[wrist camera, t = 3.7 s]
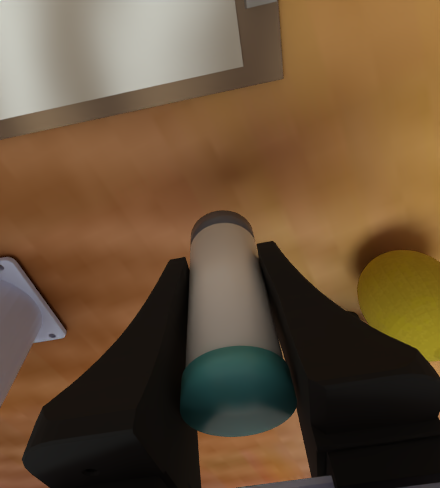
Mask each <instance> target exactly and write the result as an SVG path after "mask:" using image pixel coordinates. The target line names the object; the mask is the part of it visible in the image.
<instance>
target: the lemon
mask: <svg viewBox="0 0 440 488" xmlns="http://www.w3.org/2000/svg"><path fill="white" fill-rule="evenodd" d="M357 293H358V301H359V305H360V309H361V311H362V313H363V316H364V317H365V319H366V321H367V322H368V324H369V326H371V327H373V328H375V329H377V330H379V331H380V332H382V333H384V334H386V335H388V336H390V337H393V338H395V339H397V340H399V341H401V342H403V343H406V344H408V345H410V346H412V347H414V348H416V349H418V350H419V352H420V353H421V354H422V355H423V356H424V357H425V359H426V360H427V361H440V262H439V261H437V260H436V259H434V258H432V257H430V256H428V255H426V254H423V253H420V252H417V251H412V250H395V251H390V252H387V253H383V254H381V255H379V256H377V257H376V258H374V259H373V260H372V261H370V262H369V264H368V265H367V266H366V267H365V268H364V270H363V271H362V273H361V275H360V278H359V282H358V287H357Z"/></svg>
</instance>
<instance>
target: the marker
mask: <svg viewBox="0 0 440 488" xmlns="http://www.w3.org/2000/svg"><path fill="white" fill-rule="evenodd" d="M296 406H297V398H296V394H295V390H294V386H293V382H292V378H291V374H290V370H289V367H288V365H287V363H286V362H285V360H284V359H283V356H282V352H281V348H280V344H279V340H278V335H277V331H276V327H275V323H274V319H273V314H272V310H271V306H270V302H269V298H268V293H267V289H266V285H265V281H264V278H263V274H262V270H261V265H260V261H259V256H258V252H257V247H256V243H255V239H254V235H253V231H252V227H251V225H250V223H249V222H248V221H247V220H246V219H245V218H244V217H243V216H241V215H240V214H238V213H235V212H232V211H215V212H211V213H209V214H206V215H205V216H203V217H202V218H200V219H199V220H198V221H197V222H196V224H195V225H194V227H193V229H192V233H191V248H190V272H189V296H188V320H187V344H186V367H185V370H184V372H183V374H182V378H181V395H180V414H181V417H182V419H183V420H184V421H185V422H186V423H187V424H188V425H189V426H190V427H192V428H194V429H195V430H198V431H200V432H203V433H206V434H210V435H215V436H224V437H238V436H248V435H254V434H258V433H261V432H265V431H268V430H270V429H273V428H275V427H277V426H279V425H280V424H282V423H283V422H285V421H286V420H287V419H288V418H289V417H290V416H291V415H292V414H293V413H294V411H295V409H296Z"/></svg>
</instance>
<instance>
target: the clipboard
mask: <svg viewBox="0 0 440 488" xmlns="http://www.w3.org/2000/svg"><path fill="white" fill-rule="evenodd" d="M280 79H283V64H282V50H281V35H280V20H279V6H278V0H0V140H1V139H6V138H11V137H15V136H20V135H25V134H29V133H34V132H39V131H43V130H48V129H53V128H57V127H62V126H66V125H71V124H76V123H80V122H85V121H90V120H94V119H99V118H104V117H108V116H113V115H118V114H122V113H127V112H131V111H136V110H141V109H145V108H150V107H155V106H159V105H164V104H169V103H173V102H178V101H183V100H187V99H192V98H196V97H201V96H206V95H210V94H215V93H220V92H224V91H229V90H234V89H238V88H243V87H248V86H252V85H257V84H261V83H266V82H271V81H275V80H280Z"/></svg>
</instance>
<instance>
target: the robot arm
mask: <svg viewBox="0 0 440 488" xmlns="http://www.w3.org/2000/svg"><path fill="white" fill-rule="evenodd" d="M257 250H258V256H259V261H260V265H261V270H262V274H263V278H264V281H265V285H266V289H267V293H268V298H269V302H270V306H271V310H272V314H273V319H274V323H275V327H276V331H277V335H278V339H279V342H280V345H281V348H282V351H283V354H284V358H285V361H286V363H287V365H288V367H289V370H290V374H291V378H292V382H293V386H294V390H295V394H296V398H297V406H296V408H297V413H298V417H299V422H300V426H301V431H302V435H303V440H304V444H305V449H306V454H307V458H308V463H309V468H310V472H311V477H312V478H307V479H299V480H291V481H284V482H276V483H268V484H261V485H253V486H246V487H238V488H440V420H439V418H438V415H439V412H440V377H439V375H438V374H437V372H436V371H435V370H434V368H433V367H432V366H431V365H430V363H429V362H428V361H427V360H426V359H425V357H424V356H423V355H422V354H421V353H420V352H419V350H418V349H416V348H414V347H412V346H410V345H408V344H406V343H403V342H401V341H399V340H397V339H395V338H393V337H390V336H388V335H386V334H384V333H382V332H380V331H379V330H377V329H375V328H373V327H371V326H369V325H368V324H366V323H364V322H363V321H361V320H360V319H358V318H356V317H355V316H353V315H351V314H350V313H348V312H347V311H345V310H344V309H342V308H341V307H340V306H338V305H337V304H335V303H334V302H333V301H331V300H330V299H329V298H327V297H326V296H325V295H324V294H322V293H321V292H320V291H319V290H318V289H317V288H315V287H314V286H313V285H312V284H311V283H310V282H309V281H308V280H307V279H306V278H305V277H304V276H303V275H302V274H301V273H300V272H299V271H298V270H297V269H296V268H295V267H294V266H293V265H292V264H291V263H290V262H289V260H288V259H287V258H286V257H285V256H284V254H283V253H282V252H281V250H280V249H279V248H278V246H277V245H276V243H275V242H273V241H270V242H264V243H259V244H257ZM0 265H2V266H3V267H2V266H0V407H1V405H2V403H3V401H4V399H5V397H6V395H7V393H8V391H9V390H10V388H11V386H12V384H13V382H14V380H15V378H16V376H17V374H18V372H19V370H20V368H21V366H22V364H23V362H24V360H25V358H26V356H27V354H28V352H29V350H30V348H31V346H32V344H33V343H36V342H43V341H49V340H55V339H61V338H64V337H65V335H66V332H67V331H66V329H65V328H64V327H63V325H62V324H61V323H60V321H59V320H58V318H57V317H56V316H55V314H54V313H53V311H52V310H51V309H50V307H49V306H48V304H47V303H46V302H45V300H44V299H43V297H42V296H41V295H40V293H39V292H38V291H37V289H36V288H35V286H34V285H33V284H32V282H31V281H30V279H29V278H28V277H27V275H26V274H25V272H24V271H23V270H22V268H21V267H20V266H19V264H18V263H17V261H16V260H15V259H13V258H10V257H3V258H0ZM189 272H190V270H189V267H188V264H187V261H186V258H185V257H182V258H177V259H171V260H170V261H169V262H168V264H167V265H166V267H165V269H164V271H163V273H162V275H161V277H160V278H159V280H158V282H157V284H156V286H155V287H154V289H153V291H152V292H151V294H150V296H149V297H148V299H147V300H146V302H145V303H144V305H143V306H142V308H141V309H140V311H139V312H138V314H137V315H136V317H135V318H134V319H133V321H132V322H131V323H130V325H129V326H128V327H127V329H126V330H125V331H124V332H123V334H122V335H121V336H120V337H119V338H118V340H117V341H116V342H115V343H114V344H113V345H112V346H111V347H110V348H109V349H108V350H107V351H106V352H105V353H104V354H103V355H102V357H101V358H100V359H99V360H98V361H97V362H95V363H94V364H93V365H92V366H91V367H90V368H89V369H88V370H87V371H86V372H85V373H84V374H83V375H81V376H80V377H79V378H78V379H77V380H76V381H75V382H73V383H72V384H71V385H70V386H69V387H67V388H66V389H65V390H64V391H62V392H61V393H60V394H59V395H57V396H56V397H55V398H54V399H52V400H51V401H50V402H49V403H47V404H46V405H45V406H43V408H42V410H41V412H40V414H39V416H38V419H37V421H36V423H35V426H34V429H33V431H32V434H31V436H30V439H29V441H28V444H27V447H26V449H25V452H24V455H23V457H22V461H23V464H24V466H25V468H26V469H27V470H28V471H29V472H30V473H31V474H32V475H34V476H35V477H36V478H38V479H39V480H40V481H42V482H43V483H44V484H46V485H47V486H48V487H50V488H201V479H200V466H199V451H198V435H197V430H195V429H194V428H192V427H190V426H189V425H188V424H187V423H186V422H185V421H184V420H183V419H182V417H181V414H180V395H181V378H182V374H183V372H184V370H185V367H186V344H187V320H188V296H189Z"/></svg>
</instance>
